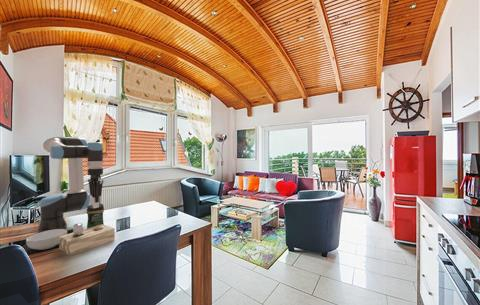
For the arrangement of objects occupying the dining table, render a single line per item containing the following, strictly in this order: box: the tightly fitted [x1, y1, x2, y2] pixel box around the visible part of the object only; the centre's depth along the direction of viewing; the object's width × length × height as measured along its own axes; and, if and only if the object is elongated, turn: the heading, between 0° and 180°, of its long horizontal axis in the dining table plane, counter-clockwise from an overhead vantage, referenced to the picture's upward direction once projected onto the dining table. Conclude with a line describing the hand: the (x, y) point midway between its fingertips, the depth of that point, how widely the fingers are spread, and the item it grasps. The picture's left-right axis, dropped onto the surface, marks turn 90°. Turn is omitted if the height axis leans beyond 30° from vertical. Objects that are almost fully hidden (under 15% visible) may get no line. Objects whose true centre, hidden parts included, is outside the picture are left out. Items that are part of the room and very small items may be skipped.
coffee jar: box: [86, 203, 105, 229], centre depth 137 cm, size 10×8×19 cm
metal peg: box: [72, 222, 84, 238], centre depth 115 cm, size 4×4×7 cm
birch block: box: [58, 224, 116, 256], centre depth 119 cm, size 14×22×7 cm, turn 150°
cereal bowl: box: [25, 229, 68, 251], centre depth 116 cm, size 17×17×7 cm
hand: (95, 207), depth 122 cm, fingers closed
